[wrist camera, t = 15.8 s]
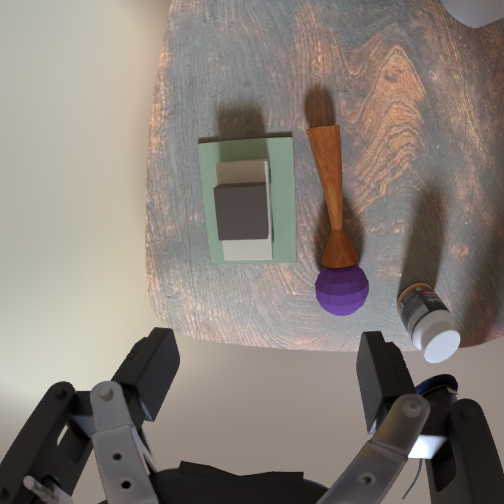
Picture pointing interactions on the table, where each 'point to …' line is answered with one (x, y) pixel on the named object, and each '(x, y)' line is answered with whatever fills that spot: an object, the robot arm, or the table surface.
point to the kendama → (336, 232)
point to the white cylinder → (475, 11)
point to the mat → (280, 190)
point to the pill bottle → (428, 322)
